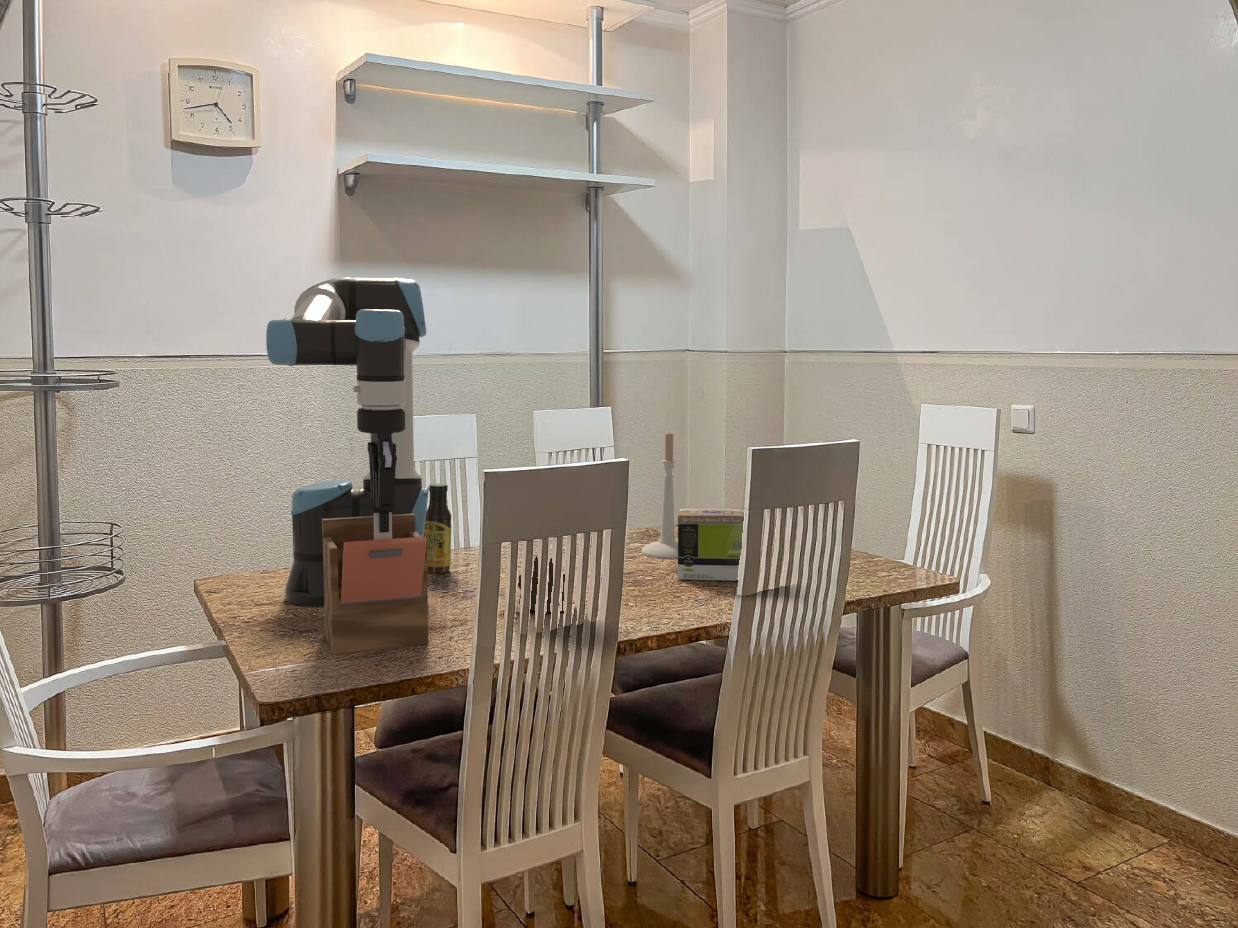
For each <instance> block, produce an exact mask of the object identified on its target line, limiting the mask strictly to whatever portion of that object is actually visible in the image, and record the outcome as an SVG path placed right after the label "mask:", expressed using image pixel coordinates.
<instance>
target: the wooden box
mask: <svg viewBox="0 0 1238 928" xmlns="http://www.w3.org/2000/svg"><path fill="white" fill-rule="evenodd" d="M412 537H421V536H420V535H419V534H418V533H417V532H416V528H415V514H399V515H392V539H397V538H412ZM368 540H374V516H365V517H348V518H331V519H322V542H323V577H324V606H323V608H324V609H323V610H324V636H325V639H326V641H327V644H328V647H329V648H330V651H331V654H332V655H340V654H341V655H342V654H343V655H344V654H349V653H350V654H353V653H358V652H359V653H360V652H367V651H368V652H369V651H377V650H378V651H379V650H387V649H397V648H404V647H405V648H406V647H415V646H416V647H417V646H422V645H429V643H430V642H429V595H428V592H429V590H428V588H429V587H428V583H429V582H428V579H429V578H428V573H427V543H426V552H425V562H424V571H423V580H422V590H421V592H422V598H417V599H406V600H395V601H384V602H373V603H362V604H352V605H341V606H340V605H339V599H341V589H342V570H343V550H344V542H353V541H368Z"/></svg>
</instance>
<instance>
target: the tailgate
mask: <svg viewBox="0 0 1238 928" xmlns="http://www.w3.org/2000/svg"><path fill="white" fill-rule="evenodd" d="M426 543H427V540H426V537H412V538H397V539H382V540H368V541H353V542H344V550H343V570H342V589H341V599H339V605H340V606H341V605H352V604H362V603H373V602H384V601H395V600H406V599H417V598H422V592H421V590H422V580H423V571H424V562H425V552H426Z"/></svg>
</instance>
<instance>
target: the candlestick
mask: <svg viewBox="0 0 1238 928" xmlns="http://www.w3.org/2000/svg"><path fill="white" fill-rule="evenodd" d="M664 435H665V436H664V459H662V460H661V462H662V464H663V466H662V467H663V469H664V471H665V472H664V473H665V474H664V475H663V477H664V481H663V495H662V507H661V508H662V510H661V521H660V522H661V524H660V534H659V535H660V537H659V541H655V542H651V543H649V544H646V545H645V546H643V547H642V548H641V551H640V552H641V554H642V555H643V556H645V557H649V558H655V559H662V560H663V559H669V560H670V559H672V560H673V559H676V560H677V559H678V541H677V540H676V533H675V506H674V481H673V480H674V476H673V470H674V468H675V463H676V462H677V460H674V433H672V432H666V433H664Z"/></svg>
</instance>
